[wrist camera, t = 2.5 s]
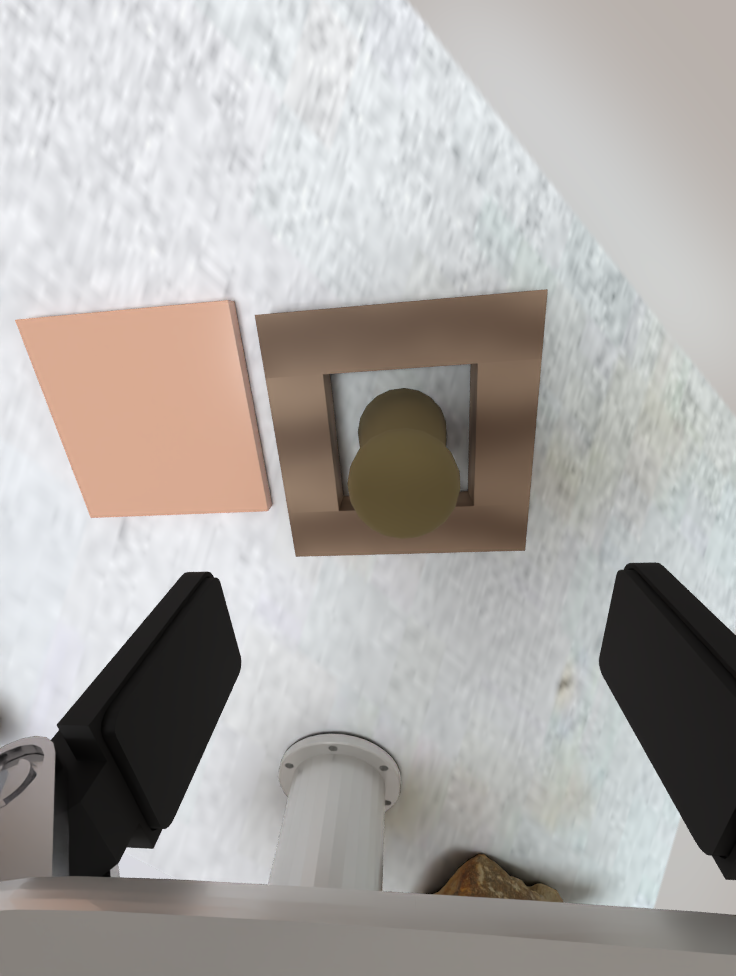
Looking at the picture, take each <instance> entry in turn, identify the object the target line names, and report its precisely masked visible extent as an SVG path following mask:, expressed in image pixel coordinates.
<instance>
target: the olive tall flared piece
mask: <svg viewBox="0 0 736 976" xmlns="http://www.w3.org/2000/svg"><path fill="white" fill-rule="evenodd" d="M358 436H359V444H360V449H359V451H358V453H357V455H356V456H355V458H354V460H353V462H352V464H351V467H350V471H349V477H348V483H347V485H348V490H349V496H350V501H351V504H352V506H353V508H354V509H355V511H356V513H357V515H358V517H359V518H360V519H361V520H362V521H363V522H364V523H365V524H366V525H367V526H368V527H370V528H371V529H372V530H374V531H376V532H378V533H381V534H383V535H385V536H389V537H394V538H400V539H404V538H415V537H420V536H422V535H425V534H427V533H430V532H432V531H434V530H435V529H437V528H438V527H439V526H440V525H442V524H443V523H444V522H446V520H447V519H448V517H449V516H450V515H451V513H452V512H453V510H454V509H455V506H456V502H457V499H458V495H459V492H460V473H459V469H458V467H457V465H456V463H455V460H454V458H453V456H452V454H451V452H450V451H449V450H448V449H447V447H446V437H447V432H446V420H445V418H444V416H443V413H442V411H441V409H440V407H439V406H438V405H437V404H436V403H435V402H434V401H433V400H432V399H431V398H430V397H429V396H427V395H425V394H423V393H421V392H420V391H417V390H411V389H406V388H401V389H394V390H389V391H387V392H385V393H383V394H381V395H379V396H377V397H376V398H375V399H374V400H373V401H372V402H371V403H370V404H368V405H367V406H366V408H365V410H364V412H363V414H362V416H361V418H360V423H359V429H358Z"/></svg>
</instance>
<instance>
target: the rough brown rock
mask: <svg viewBox="0 0 736 976" xmlns="http://www.w3.org/2000/svg"><path fill="white" fill-rule="evenodd" d="M435 895H451V896H467V897H483V898H499V899H515V900H530V901H545V902H560V903H564V902H563V900H562V898H561V897H560V895H559V894H558V892H557V890H555V889H553V888H551V887H549V886H547V885H545V884H541V883H539V884H535V885H533V886H526V885H525V884H524V882H523V881H522V880H521V879H518V878H516V877H513V876H509V875H508V874H507V872H506V871H504V870H503V869H502V868H501V867H500V866H499V865H498V864H497V863H496V862H494V861H493V860H491V859H489V858H488V857H487V856H485V855H484V854H478V855H476V856H475V857H473V858H471V859H470V860H468V861H467V862H466V863H464V864H463V865H462V866H461V867H459V868H458V870H457V871H456V872H455V874H454V875H453V876H452V877H451V878H450V879H449V881H448V882H447V883H446V885H445V886H444V887H443V888H442V889H441V890H440V891H439V892H436V893H435Z"/></svg>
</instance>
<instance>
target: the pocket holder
mask: <svg viewBox="0 0 736 976" xmlns="http://www.w3.org/2000/svg"><path fill="white" fill-rule="evenodd" d="M547 291H548V289H546V290H535V291H524V292H512V293H501V294H490V295H478V296H467V297H455V298H444V299H433V300H421V301H410V302H398V303H387V304H376V305H364V306H353V307H341V308H330V309H319V310H307V311H296V312H285V313H273V314H262V315H255V319H256V325H257V331H258V337H259V343H260V349H261V355H262V361H263V366H264V372H265V378H266V384H267V390H268V396H269V402H270V408H271V413H272V419H273V425H274V431H275V437H276V443H277V449H278V455H279V461H280V466H281V472H282V478H283V484H284V490H285V496H286V502H287V508H288V513H289V519H290V525H291V531H292V537H293V543H294V549H295V555H296V557H300V556H338V555H375V554H413V553H451V552H489V551H525V545H526V534H527V522H528V510H529V499H530V487H531V476H532V464H533V453H534V441H535V430H536V418H537V406H538V395H539V383H540V372H541V360H542V349H543V337H544V325H545V314H546V302H547ZM461 364H471V369H470V415H469V462H468V491H460V492H459V495H458V499H457V502H456V506H455V509H454V510H453V512H452V513H451V515H450V516H449V517H448V519H447V520H446V522H444V523H443V524H442V525H440V526H439V527H438V528H437V529H435V530H434V531H432V532H430V533H427V534H425V535H422V536H420V537H415V538H404V539H400V538H394V537H389V536H385V535H383V534H381V533H378V532H376V531H374V530H372V529H371V528H370V527H368V526H367V525H366V524H365V523H364V522H363V521H362V520H361V519H360V518H359V517H358V515H357V513H356V511H355V509H354V508H353V506H352V504H351V501H350V496H343V487H342V478H341V469H340V460H339V451H338V441H337V432H336V423H335V414H334V405H333V396H332V387H331V377H330V374H335V373H349V372H363V371H377V370H391V369H405V368H419V367H433V366H447V365H461Z"/></svg>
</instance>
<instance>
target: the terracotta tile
mask: <svg viewBox="0 0 736 976" xmlns="http://www.w3.org/2000/svg"><path fill="white" fill-rule="evenodd" d="M15 321H16V324H17V326H18V329H19V331H20V334H21V337H22V339H23V342H24V345H25V347H26V350H27V352H28V355H29V358H30V360H31V363H32V365H33V368H34V371H35V373H36V376H37V378H38V381H39V384H40V386H41V389H42V391H43V394H44V397H45V399H46V402H47V405H48V407H49V410H50V412H51V415H52V418H53V420H54V423H55V425H56V428H57V431H58V433H59V436H60V438H61V441H62V444H63V446H64V449H65V451H66V454H67V457H68V459H69V462H70V465H71V467H72V470H73V472H74V475H75V478H76V480H77V483H78V485H79V488H80V491H81V493H82V496H83V498H84V501H85V504H86V506H87V509H88V511H89V514H90V517H91V518H99V517H125V516H152V515H178V514H204V513H230V512H257V511H269V509H270V508H271V506H272V502H271V496H270V491H269V485H268V480H267V475H266V469H265V464H264V459H263V453H262V448H261V442H260V437H259V432H258V426H257V421H256V416H255V410H254V405H253V399H252V394H251V389H250V383H249V378H248V373H247V367H246V362H245V356H244V351H243V346H242V340H241V335H240V330H239V324H238V319H237V313H236V308H235V303H234V301H230V300H225V301H214V302H203V303H192V304H181V305H170V306H160V307H149V308H138V309H127V310H116V311H105V312H95V313H84V314H73V315H62V316H51V317H40V318H29V319H19V320H15Z"/></svg>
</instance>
